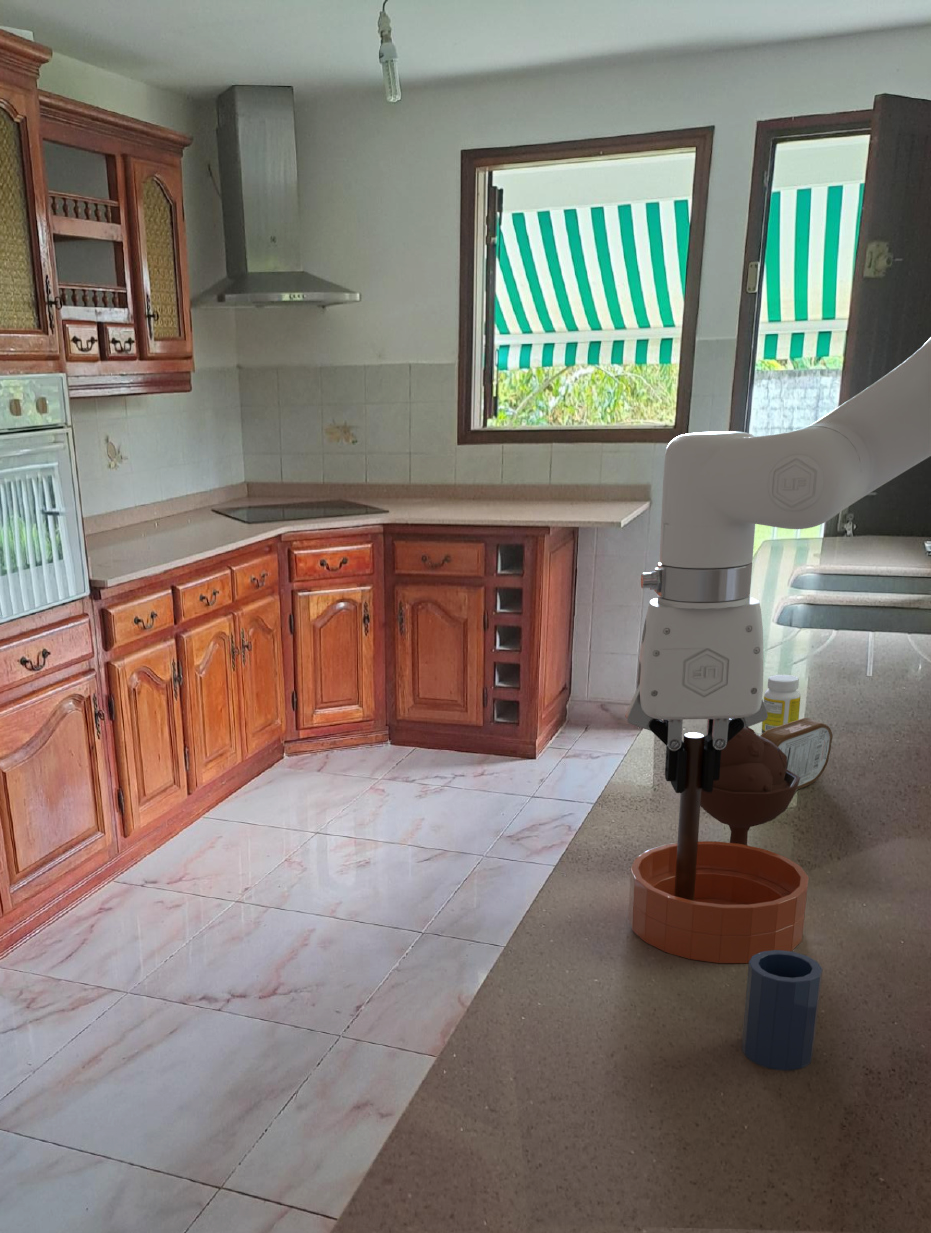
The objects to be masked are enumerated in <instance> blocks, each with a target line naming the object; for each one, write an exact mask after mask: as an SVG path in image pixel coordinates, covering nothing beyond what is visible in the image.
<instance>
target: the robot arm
mask: <svg viewBox="0 0 931 1233" xmlns="http://www.w3.org/2000/svg"><path fill="white" fill-rule="evenodd" d="M930 457H931V336H930V337H929V338H928V340H927V341H926V342H924V343H923V345H922V346H920V348H918V349H917V350H916V351H915V352H914V353H913V354H912V355H910V356H909V357H908V358H907V359H905V360H904V361H902V363H899V365H897V366H896V367H895V368H894V369H892V370H890V371H889V372H888V373H887V374H885V375H884V376H882V377H881V378H879V379H878V380H877V381H875V382H874V383H872V384H870V385H869V386H868V387H866V388H865V389H864V390H861V391H860V392H859V393H857V394H855V395H854V396H853V397H851V398H850V399H848V400H847V401H845V402H844V403H842V404H841V405H839V406H838V407H836V408H834V409H833V410H832V411H830V412H829V413H827V414H826V415H824V416H822V417H820V418H819V419H818V420H816V421H814V422H813V423H811V424H810V425H806V426H804V427H800V428H797V429H794V430H790V431H786V432H780V433H773V434H766V435H757V436H755V435H753V434H751V433H749V432H745V431H738V430H737V431H736V430H735V431H733V430H732V431H731V430H730V431H729V430H727V431H702V432H691V433H690V432H689V433H685V434H680V435H678V436H676V437H674V438H673V439H672V440H670V441H669V443H668V445H667V446H666V449H665V452H664V459H663V480H662V496H661V497H662V498H661V518H660V520H661V521H660V523H661V524H660V543H659V544H660V545H659V562H657V565H656V566H657V567H655V568H654V570H651V571H650V572H642V573H641V575H640V589H642V590H644V589H649V590H650V591H654V592H655V593H656V594H657V597H654V598H652V599H650V600H649V604H648V607H647V611H646V615H645V619H644V623H643V630H642V635H641V642H640V649H639V656H638V657H639V658H638V665H637V675H636V676H637V677H636V690H635V693H634V694H633V697H632V698H631V701H630V703H629V706H628V707H627V710H626V712H625V715H624V717H625V719H626V721H627V723H629V725H632V726H635V727H638V728H640V729H642V730H647V731H649V732H651V733H653V734H654V735H655V736H656V737H657V738H658V739H659V740H660V741H661V742H662V743H663V744H664V745H665V746H666V747H665V761H664V762H665V764H664V778H665V781H666V782H670V785H671V786H672V788H673V790H674V792H675V794H680V793H682V792H684V791H685V779H686V763H687V752H686V750H685V749H684V743H683V741H684V740H683V724H684V723H683V722H684V720H707V724H706V735H704V736H705V742H704V756H703V771H702V786H701V788H702V790H703V791H705V792H706V793H712V790H713V781H718V780H719V776H720V762H721V750H722V749H724V748H725V747H726V745H727V742H729V741H730V740H731V739H732V738H733V737H734V736H735V735H736V734H738V733H739V732H740V731H741V730H742V729H743V728H745V727H749V728H750V727H752V726H755V725H758V724H759V723H762V721H765V720H766V719H767V717H768V714H767V711H766V708H765V705H764V699H763V697H764V629H763V628H764V627H763V617H762V616H763V615H762V609H761V603H760V600H759V599H756V597H755V598H754V597H752V596H751V587H752V575H753V574H752V573H753V559H754V558H753V557H754V547H755V546H754V545H755V544H754V543H755V532H756V525H761V526H767V527H772V528H777V529H786V530H805V529H811V528H814V527H817V526H820V525H823V524H825V523H827V522H828V521H830V520H832V519H833V518H834V517H836V516H837V515H839V514H840V513H841V512H842V511H845V509H847V508H849V507H850V506H852V505H853V504H855V503H857V502H858V501H859V500H861V499H863V498H865V497H866V496H867V495H869V494H871V493H873V492H874V491H876V490H877V489H879V488H881V487H882V486H883V485H885V484H887V483H889V482H890V481H893V479H895V478H897V477H898V476H900V475H902V474H903V473H905V472H906V471H908V470H910V469H912V468H913V467H915V466H916V465H918V464H920V463H921V462H923V461H925V460H927V459H928V458H930Z"/></svg>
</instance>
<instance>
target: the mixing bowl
mask: <svg viewBox="0 0 931 1233" xmlns="http://www.w3.org/2000/svg"><path fill="white" fill-rule="evenodd" d="M747 845H748V844H747ZM747 845H743V844H736V843H730V842H726V841H715V840H714V841H713V840H707V841H705V840H704V841H703V840H701V841H700V840H699V841H698V849H697V864H696V879H695V894H694V901H692V900H688V899H684V898H680V897H676V896H674V893H675V876H676V859H677V842H675V843H668V844H664V845H663V844H662V845H660V846H657V847H654V848H650V849H648V850H646V851H644V852H643V853H641V854H640V855H638V856H637V857H635V858H634V861H633V862H632V865H631V867H630V876H629V877H630V879H629V900H628V901H629V903H628V922H629V925H630V928H631V930H632V932H633V933H635V935H636V936H638V938H640V939H641V940H642V941H643V942H645V943H646V944H648V945H650V946H652V947H654V948H656V949H658V950H660V951H663V952H665V953H668V954H670V955H674V956H677V957H682V958H685V959H687V960H694V961H701V962H707V963H715V964H749V961H750V959H751V957H752V956H753V955H755V954H757V953H760V952H763V951H771V950H783V951H792V952H793V951H794V950H795V948H797V947H798V945H800V944H801V943H802V941H803V935H804V925H805V916H806V907H807V897H808V889H809V888H808V887H809V876H808V874H807V873H806V872H805V870H804V869H803V867H802V866H801V865H799V864H798V863H796V862H795V861H793V860H791V859H789V858H788V857H786V856H784V855H781V854H778V853H776V852H773V851H770V850H768V849H764V848H762V847H761V848H760V847H756V846H751V845H748V846H747Z"/></svg>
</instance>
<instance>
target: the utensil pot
mask: <svg viewBox="0 0 931 1233" xmlns="http://www.w3.org/2000/svg"><path fill="white" fill-rule="evenodd" d="M823 972H824V970H823V968H822V965H821V964H820V963H819V962H818V961H817V960H815V959H814V958H812V957H810V956H808V955H806V954H803V953H799V952H797V951H793V950H792V951H783V950H771V951H763V952H760V953H757V954H755V955H753V956H752V957H751V959H750V961H749V963H748V967H747V979H746V988H745V989H746V990H745V1000H744V1012H743V1024H742V1035H741V1036H742V1037H741V1049H742V1050H741V1051H742V1053H743V1054H744V1056H745V1057H746V1058H747V1059H748V1060H750V1062H752V1063H754V1064H756V1065H757V1066H761V1067H762V1068H763V1067H764V1068H767V1069H771V1070H775V1071H795V1070H799V1069H803V1068H806V1067H808V1066H809V1065H810V1064H811V1062H812V1060H813V1057H814V1051H815V1042H816V1034H817V1033H816V1032H817V1024H818V1017H819V1016H818V1014H819V1006H820V998H821V988H822V979H823Z"/></svg>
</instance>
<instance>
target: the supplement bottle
mask: <svg viewBox="0 0 931 1233" xmlns="http://www.w3.org/2000/svg"><path fill="white" fill-rule="evenodd" d="M799 683H800V678H799V677H797V676H796V675H791V674H773V675H770V676H769V677H768V678H767V689H766V690H765V692H764V693H763V702H764V705H765V708H766V711H767V714H768V717H767V719H766V720H765V721H762V722H761V735H762V734H763V733H764V732H765V731H767V730H769V729H772V728H775V727H778V726H781V725H784V724H787V723H790V722H793V721H796V720H800V708H801V707H800V706H801V697H802V696H801V693H800V691H799V690H798V689H799Z"/></svg>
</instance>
